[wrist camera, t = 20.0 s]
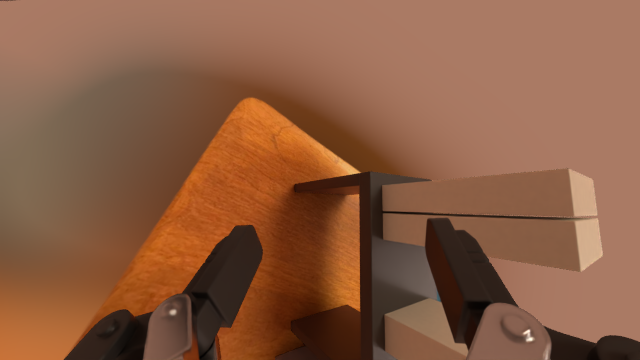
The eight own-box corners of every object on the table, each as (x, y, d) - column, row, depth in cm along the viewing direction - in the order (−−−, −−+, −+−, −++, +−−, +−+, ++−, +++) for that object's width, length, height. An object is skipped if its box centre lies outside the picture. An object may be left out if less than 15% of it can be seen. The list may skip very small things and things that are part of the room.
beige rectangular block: (384, 314, 20) (599, 424, 10) (429, 297, 24) (617, 365, 14) (384, 351, 19) (609, 503, 10) (430, 328, 23) (624, 420, 13)
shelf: (294, 183, 33) (370, 171, 21) (347, 187, 38) (431, 179, 26) (290, 330, 31) (373, 416, 18) (347, 312, 36) (440, 369, 24)
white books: (381, 185, 21) (569, 168, 11) (424, 189, 25) (592, 179, 15) (382, 239, 21) (581, 272, 11) (426, 235, 24) (603, 256, 14)
